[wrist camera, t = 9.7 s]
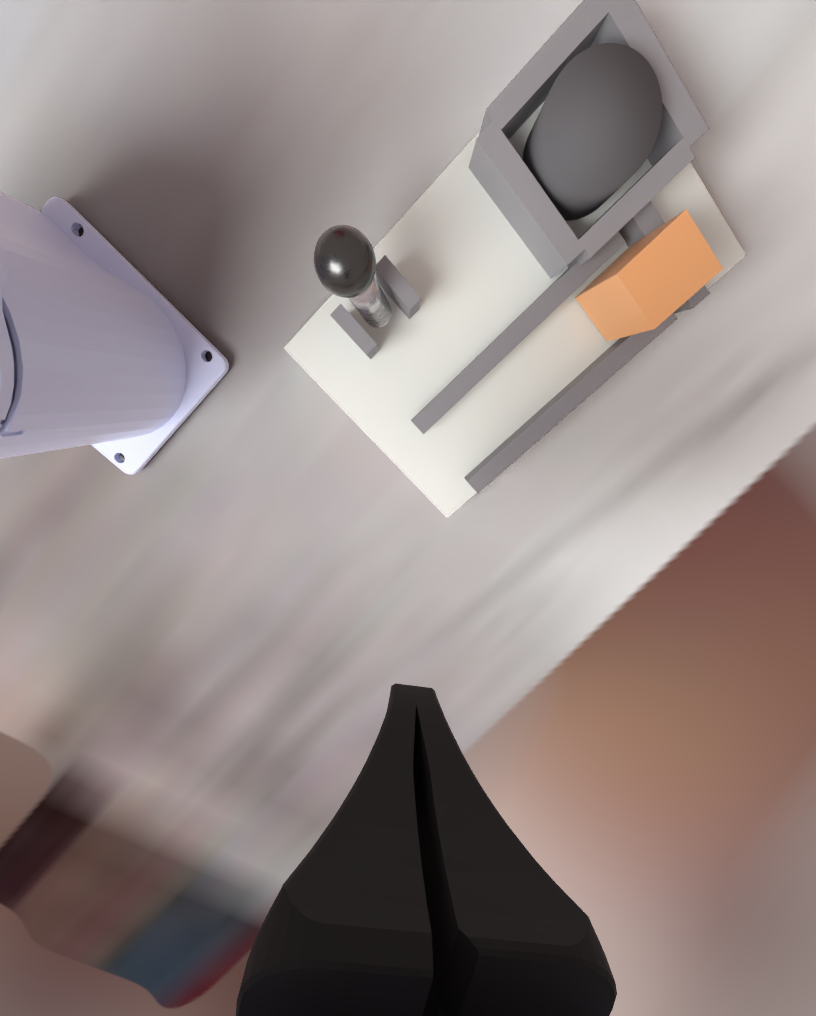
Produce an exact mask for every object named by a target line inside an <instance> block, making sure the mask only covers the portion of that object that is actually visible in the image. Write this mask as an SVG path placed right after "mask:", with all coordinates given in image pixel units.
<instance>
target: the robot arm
mask: <svg viewBox="0 0 816 1016" xmlns="http://www.w3.org/2000/svg"><path fill="white" fill-rule="evenodd" d="M81 227H83V230H84V233H83V235H82V236H81V237H80V235H79V228H81ZM208 351H210V352H211V354H212V360H211V361H210V362H208V361H207V360H206V358H205V354H206V352H208ZM228 370H229V363H228V360H227V359H226V358H225V357H224V356H223V355H222V354H221V353H220V352H219V351H218V350H217V349H216V348H215V347H214V346H213V345H212V344H211V343H210V342H209V341H208V340H207V339H206V338H205V337H204V336H203V335H202V334H201V333H200V332H199V331H198V330H197V329H196V328H195V327H194V326H193V325H192V324H191V323H190V322H189V321H188V320H187V319H186V318H185V317H184V316H183V315H182V314H181V313H180V312H179V311H178V310H177V309H176V308H175V307H174V306H173V305H172V304H171V303H170V302H169V301H168V300H167V299H166V298H165V297H164V296H163V295H162V294H161V293H160V292H159V291H158V290H157V289H156V288H155V287H154V286H153V285H152V284H151V283H150V282H149V281H148V280H147V279H146V278H145V277H144V276H143V275H142V274H141V273H140V272H139V271H138V270H137V269H136V268H135V267H134V266H133V265H131V264H130V263H129V262H128V261H127V260H126V259H125V258H124V257H123V256H122V255H121V254H120V253H119V252H118V251H117V250H116V249H115V248H114V247H113V246H112V245H111V244H110V243H109V242H108V241H107V240H106V239H105V238H104V237H103V236H102V235H101V234H100V233H99V232H98V231H97V230H96V229H95V228H94V227H93V226H92V225H91V224H90V223H89V222H88V221H87V220H86V219H85V218H84V217H83V216H82V215H81V214H80V213H79V212H78V211H77V210H76V209H75V208H74V207H73V206H72V205H71V204H70V203H68V202H67V201H65V200H63V199H62V198H60V197H56V196H55V197H51V198H50V199H48V201H47V202H46V203H45V205H44V206H43V208H42V209H41V211H38V210H36V209H34V208H32V207H30V206H28V205H26V204H24V203H22V202H20V201H18V200H16V199H14V198H12V197H10V196H8V195H6V194H4V193H2V192H0V459H2V458H9V457H15V456H21V455H28V454H34V453H40V452H47V451H53V450H59V449H65V448H72V447H78V446H84V445H92V446H93V447H94V448H96V449H97V450H98V451H99V452H100V453H102V454H103V455H104V456H105V457H106V458H107V459H109V460H110V461H111V462H112V463H113V464H115V465H116V466H117V467H118V468H119V469H120V470H122V471H123V472H124V473H126V474H130V475H131V474H135V473H138V472H140V471H141V470H142V469H143V468H144V466H145V465H146V464H147V463H148V462H149V461H150V460H151V458H152V457H153V456H154V455H155V454H156V453H157V452H158V451H159V449H160V448H161V447H162V446H163V445H164V444H165V443H166V441H167V440H168V439H169V438H170V437H171V436H172V435H173V433H174V432H175V431H176V430H177V429H178V428H179V427H180V425H181V424H182V423H183V422H184V421H185V420H186V419H187V417H188V416H189V415H190V414H191V413H192V412H193V411H194V409H195V408H196V407H197V406H198V405H199V404H200V403H201V402H202V400H203V399H204V398H205V397H206V396H207V395H208V394H209V392H210V391H211V390H212V389H213V388H214V387H215V386H216V384H217V383H218V382H219V381H220V380H221V379H222V378H223V376H224V375H225V374H226V373H227V371H228ZM120 453H121V454H123V455H124V457H125V461H122V460H121V458H120ZM616 995H617V991H616V984H615V981H614V978H613V975H612V972H611V970H610V967H609V964H608V962H607V959H606V956H605V954H604V951H603V949H602V946H601V944H600V942H599V940H598V937H597V935H596V933H595V931H594V929H593V926H592V924H591V922H590V919H589V917H588V916H587V915H586V914H585V913H584V912H583V911H582V910H581V909H580V908H579V907H578V906H577V904H576V903H575V902H574V901H573V900H572V899H571V898H570V897H569V896H568V895H566V893H565V892H564V891H563V890H562V889H561V888H560V887H559V886H558V885H557V884H556V883H555V882H554V881H553V880H552V879H551V877H550V876H549V875H548V874H547V873H546V872H545V871H544V870H543V868H542V867H541V866H540V865H539V864H538V863H537V862H536V861H535V859H534V858H533V857H532V856H531V854H530V853H529V852H528V851H527V849H526V848H525V847H524V845H523V844H522V843H521V842H520V841H519V839H518V838H517V837H516V835H515V834H514V833H513V832H512V830H511V829H510V828H509V826H508V825H507V824H506V823H505V821H504V820H503V818H502V817H501V815H500V814H499V812H498V811H497V810H496V808H495V807H494V805H493V804H492V802H491V801H490V799H489V798H488V797H487V795H486V793H485V792H484V790H483V789H482V787H481V785H480V784H479V782H478V780H477V779H476V777H475V775H474V774H473V772H472V770H471V769H470V767H469V765H468V763H467V761H466V759H465V758H464V756H463V754H462V752H461V750H460V748H459V746H458V744H457V742H456V740H455V738H454V736H453V734H452V732H451V730H450V728H449V725H448V723H447V721H446V719H445V716H444V714H443V712H442V709H441V707H440V704H439V702H438V699H437V696H436V693H435V691H434V690H433V689H432V688H426V687H418V686H410V685H402V684H394V685H393V686H391V692H390V697H389V703H388V709H387V713H386V716H385V719H384V721H383V724H382V727H381V729H380V732H379V735H378V737H377V739H376V742H375V744H374V746H373V748H372V750H371V752H370V755H369V757H368V759H367V761H366V763H365V765H364V767H363V769H362V771H361V773H360V774H359V776H358V778H357V780H356V782H355V784H354V785H353V787H352V789H351V790H350V792H349V794H348V795H347V797H346V799H345V800H344V802H343V804H342V805H341V807H340V809H339V810H338V812H337V813H336V815H335V816H334V818H333V819H332V821H331V822H330V824H329V825H328V826H327V828H326V829H325V831H324V832H323V833H322V835H321V836H320V838H319V839H318V841H317V842H316V843H315V845H314V846H313V848H312V849H311V850H310V852H309V853H308V854H307V855H306V857H305V858H304V859H303V860H302V862H301V863H300V864H299V865H298V867H297V868H296V869H295V870H294V872H293V873H292V874H291V875H290V877H289V878H288V879H287V880H286V882H285V883H284V884H283V886H282V888H281V890H280V892H279V894H278V896H277V897H276V899H275V901H274V903H273V905H272V907H271V909H270V911H269V913H268V914H267V916H266V918H265V920H264V922H263V924H262V926H261V929H260V931H259V933H258V935H257V937H256V940H255V942H254V944H253V947H252V949H251V952H250V955H249V958H248V961H247V964H246V968H245V972H244V976H243V979H242V983H241V987H240V991H239V995H238V999H237V1008H236V1016H609V1015H610V1013H611V1011H612V1008H613V1005H614V1002H615V998H616Z"/></svg>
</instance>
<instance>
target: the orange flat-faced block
mask: <svg viewBox="0 0 816 1016" xmlns="http://www.w3.org/2000/svg"><path fill="white" fill-rule="evenodd" d="M722 269H723V267H722V266H721V264H720V263H719V261H718V259H717V258H716V256H715V254H714V253H713V251H712V250H711V248H710V246H709V245H708V243H707V242H706V240H705V238H704V237H703V235H702V233H701V232H700V230H699V229H698V227H697V225H696V224H695V222H694V221H693V219H692V217H691V216H690V214H689V213H688V211H687V209H686V210H684V211H683V212H681V213H679V214H678V215H676V216H675V217H673V218H672V219H670V220H669V221H667V222H666V223H664V224H663V225H661V226H660V227H658V228H657V229H655V230H654V231H652V232H651V233H649V234H648V235H646V236H645V237H643V238H642V239H640V240H639V241H637V242H636V243H634V244H632V245H631V246H629V247H628V248H627V249H626V250H625V251H624V252H623V253H622V254H621V255H620V256H619V257H618V258H617V259H616V260H615V261H613V262H612V263H611V264H610V265H609V266H608V267H607V268H606V269H605V270H604V271H603V272H602V273H601V274H600V275H599V276H598V277H596V278H595V279H594V280H593V281H592V282H591V283H590V284H589V285H588V286H587V287H586V288H585V289H584V290H583V291H582V292H581V293H580V294H578V295H577V296H576V297H575V299H576V300H577V301H578V303H579V304H580V305H581V307H582V308H583V310H584V311H585V312H586V314H587V315H588V316H589V318H590V319H591V320H592V322H593V323H594V325H595V326H596V327H597V329H598V330H599V331H600V333H601V334H602V335H603V337H604V338H605V340H606V341H611V340H615V339H619V338H622V337H626V336H630V335H634V334H638V333H641V332H645V331H649V330H653V329H655V328H656V327H658V326H659V325H660V324H661V323H662V322H663V321H664V320H666V319H667V318H668V317H669V316H670V315H671V314H672V313H673V312H675V311H676V310H677V309H678V308H679V307H680V306H681V305H683V304H684V303H685V302H686V301H687V300H688V299H689V298H690V297H692V296H693V295H694V294H695V293H696V292H697V291H698V290H700V289H701V288H702V287H703V286H704V285H705V284H706V283H707V282H709V281H710V280H711V279H712V278H713V277H714V276H715V275H717V274H718V273H719V272H720V271H721V270H722Z"/></svg>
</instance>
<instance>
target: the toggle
mask: <svg viewBox="0 0 816 1016" xmlns="http://www.w3.org/2000/svg"><path fill="white" fill-rule="evenodd" d="M314 265H315V270H316V273H317V275H318V278H319V279H320V281H321V283H322V284H323V285H324V287H325V288H326V289H327V290H328V291H330V292H331V293H333V294H334V295H336V296H339V297H343V298H349V300H350V301H351V302H352V304H353V305H354V306H355V308H356V309H357V310H358V312H359V313H360V314H361V316H362V317H363V318H364V320H365V321H366V322H367V323H368V324H369V325H370V326H372V327H375V328H381V327H383V326H385V325H386V324H387V323H388V322H389V321H390V319H391V314H392V310H391V306H390V304H389V302H388V300H387V298H386V296H385V295H384V293H383V291H382V289H381V287H380V286H379V284H378V282H377V280H376V278H375V277H374V276H375V272H376V258H375V253H374V250H373V248H372V245H371V243H370V242H369V240H368V239H367V238H366V236H365V235H364V234H363V233H362V232H360V231H359V230H357V229H356V228H353V227H351V226H347V225H338V226H334V227H332V228H330V229H328V230H327V231H325V232H324V233H323V234H322V236H321V237H320V238H319V240H318V242H317V244H316V247H315V252H314Z"/></svg>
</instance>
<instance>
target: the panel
mask: <svg viewBox="0 0 816 1016" xmlns="http://www.w3.org/2000/svg"><path fill="white" fill-rule="evenodd" d="M603 43H618V44H623V45H626V46H629V47H631V48H633V49H635V50H636V51H638V52H639V53H640V54H641V55H643V56H644V58H645V59H646V60H647V61H648V62H649V63H650V65H651V66H652V68H653V70H654V72H655V74H656V76H657V79H658V81H659V84H660V89H661V94H662V119H661V125H660V130H659V133H658V136H657V139H656V142H655V144H654V147H653V149H652V151H651V153H650V154H649V156H648V158H647V159H646V161H645V162H644V163H643V165H642V166H641V167H640V168H639V169H638V170H637V172H636V173H635V174H634V175H633V176H632V177H630V178H629V179H628V180H627V181H626V182H625V183H624V184H623V185H622V186H621V187H620V188H619V189H618V190H617V191H616V192H615V193H614V194H613V195H612V196H611V197H610V198H609V199H608V200H607V201H606V202H604V203H603V204H602V205H601V206H600V207H599V208H598V209H597V210H595V211H594V212H593V213H591V214H589V215H587V216H585V217H583V218H580V219H577V220H572V221H565V220H564V219H563V217H562V216H561V214H560V213H559V211H558V210H557V209H556V207H555V206H554V204H553V203H552V202H551V200H550V199H549V197H548V196H547V194H546V193H545V192H544V190H543V189H542V187H541V186H540V184H539V183H538V182H537V180H536V179H535V177H534V176H533V174H532V173H531V172H530V170H529V169H528V167H527V166H526V165H525V163H524V162H523V160H522V158H523V151H524V147H525V144H526V141H527V138H528V136H529V134H530V131H531V129H532V127H533V125H534V123H535V121H536V119H537V117H538V115H539V113H540V111H541V108H542V106H543V104H544V102H545V100H546V98H547V96H548V94H549V92H550V90H551V88H552V86H553V84H554V82H555V80H556V78H557V77H558V75H559V73H560V72H561V71H562V69H563V68H564V67H565V66H566V65H567V63H569V62H570V61H571V60H572V59H573V58H574V57H575V56H576V55H578V54H579V53H580V52H582V51H584V50H586V49H588V48H590V47H592V46H595V45H598V44H603ZM708 129H709V127H708V126H707V124H706V122H705V120H704V119H703V117H702V115H701V114H700V112H699V110H698V108H697V107H696V105H695V103H694V101H693V100H692V98H691V96H690V94H689V93H688V91H687V89H686V87H685V86H684V84H683V82H682V81H681V79H680V77H679V75H678V74H677V72H676V70H675V68H674V67H673V65H672V63H671V61H670V60H669V58H668V56H667V54H666V53H665V51H664V49H663V48H662V46H661V44H660V42H659V41H658V39H657V37H656V35H655V34H654V32H653V30H652V28H651V27H650V25H649V23H648V21H647V20H646V18H645V16H644V15H643V13H642V11H641V9H640V8H639V6H638V4H637V2H636V1H635V0H584V1H583V2H582V3H581V4H580V5H579V6H578V7H577V8H576V9H575V11H574V12H573V13H572V14H571V15H570V16H569V17H568V18H567V20H566V21H565V22H564V23H563V24H562V25H561V26H560V27H559V28H558V30H557V31H556V32H555V33H554V34H553V35H552V36H551V37H550V39H549V40H548V41H547V42H546V43H545V44H544V45H543V46H542V48H541V49H540V50H539V51H538V52H537V53H536V54H535V55H534V56H533V58H532V59H531V60H530V61H529V62H528V63H527V64H526V65H525V67H524V68H523V69H522V70H521V71H520V72H519V73H518V74H517V75H516V77H515V78H514V79H513V80H512V81H511V82H510V83H509V84H508V86H507V87H506V88H505V89H504V90H503V91H502V92H501V93H500V94H499V96H498V97H497V98H496V99H495V100H494V101H493V102H492V103H491V105H490V106H489V107H488V108H487V109H486V112H485V116H484V119H483V123H482V126H481V130H480V131H479V132H478V133H477V134H476V135H475V136H474V138H473V139H472V140H471V141H470V142H469V143H468V144H467V145H466V146H465V148H464V149H463V150H462V151H461V152H460V153H459V154H458V155H457V156H456V157H455V159H454V160H453V161H452V162H451V163H450V164H449V165H448V166H447V167H446V169H445V170H444V171H443V172H442V173H441V174H440V175H439V176H438V177H437V179H436V180H435V181H434V182H433V183H432V184H431V185H430V186H429V187H428V189H427V190H426V191H425V192H424V193H423V194H422V195H421V196H420V197H419V199H418V200H417V201H416V202H415V203H414V204H413V205H412V206H411V207H410V209H409V210H408V211H407V212H406V213H405V214H404V215H403V216H402V217H401V219H400V220H399V221H398V222H397V223H396V224H395V225H394V226H393V227H392V228H391V230H390V231H389V232H388V233H387V234H386V235H385V236H384V237H383V238H382V240H381V241H380V242H379V243H378V244H377V245H376V246H375V247H374V248H373V250H374V253H375V258H376V272H375V276H374V277H375V278H376V280H377V282H378V284H379V286H380V287H381V289H382V291H383V293H384V295H385V296H386V298H387V300H388V302H389V304H390V306H391V310H392V314H391V319H390V321H389V322H388V323H387V324H386V325H385V326H383V327H381V328H375V327H372V326H370V325H369V324H368V323H367V322H366V321H365V320H364V318H363V317H362V316H361V314H360V313H359V312H358V310H357V309H356V308H355V306H354V305H353V304H352V302H351V301H350V300H349V298H343V297H339V296H336V295H334V294H332V295H331V296H330V297H329V298H328V300H327V301H326V302H325V303H324V304H323V305H322V306H321V307H320V308H319V309H318V311H317V312H316V313H315V314H314V315H313V316H312V317H311V318H310V319H309V321H308V322H307V323H306V324H305V325H304V326H303V327H302V328H301V329H300V331H299V332H298V333H297V334H296V335H295V336H294V337H293V338H292V339H291V341H290V342H289V343H288V344H287V345H286V346H285V347H284V349H285V350H286V351H287V352H288V353H289V355H290V356H291V357H292V358H293V359H294V360H295V361H296V362H297V363H298V364H299V365H300V366H301V367H302V368H303V369H304V370H305V371H306V372H307V373H308V374H309V375H310V376H311V377H312V378H313V379H314V380H315V382H316V383H317V384H318V385H319V386H320V387H321V388H322V389H323V390H324V391H325V392H326V393H327V394H328V395H329V396H330V397H331V398H332V399H333V400H334V401H335V402H336V403H337V404H338V405H339V406H340V407H341V408H342V410H343V411H344V412H345V413H346V414H347V415H348V416H349V417H350V418H351V419H352V420H353V421H354V422H355V423H356V424H357V425H358V426H359V427H360V428H361V429H362V430H363V431H364V432H365V433H366V434H367V435H368V437H369V438H370V439H371V440H372V441H373V442H374V443H375V444H376V445H377V446H378V447H379V448H380V449H381V450H382V451H383V452H384V453H385V454H386V455H387V456H388V457H389V458H390V459H391V460H392V461H393V462H394V463H395V465H396V466H397V467H398V468H399V469H400V470H401V471H402V472H403V473H404V474H405V475H406V476H407V477H408V478H409V479H410V480H411V481H412V482H413V483H414V484H415V485H416V486H417V487H418V488H419V489H420V490H421V492H422V493H423V494H424V495H425V496H426V497H427V498H428V499H429V500H430V501H431V502H432V503H433V504H434V505H435V506H436V507H437V508H438V509H439V510H440V511H441V512H442V513H443V514H444V515H445V516H446V517H447V518H448V517H449V516H450V515H451V514H453V513H454V512H455V511H456V510H457V509H458V508H459V507H460V506H462V505H463V504H464V503H465V502H466V501H467V500H468V499H470V498H471V497H472V496H473V495H474V494H475V493H476V492H477V493H479V492H480V491H481V490H482V489H484V488H485V487H486V486H487V485H488V484H489V483H490V482H492V481H493V480H494V479H495V478H496V477H497V476H498V475H500V474H501V473H502V472H503V471H504V470H505V469H506V468H508V467H509V466H510V465H511V464H512V463H513V462H514V461H516V460H517V459H518V458H519V457H520V456H521V455H522V454H523V453H525V452H526V451H527V450H528V449H529V448H530V447H531V446H533V445H534V444H535V443H536V442H537V441H538V440H539V439H541V438H542V437H543V436H544V435H545V434H546V433H547V432H549V431H550V430H551V429H552V428H553V427H554V426H555V425H557V424H558V423H559V422H560V421H561V420H562V419H563V418H565V417H566V416H567V415H568V414H569V413H570V412H571V411H573V410H574V409H575V408H576V407H577V406H578V405H579V404H581V403H582V402H583V401H584V400H585V399H586V398H587V397H589V396H590V395H591V394H592V393H593V392H594V391H595V390H596V389H598V388H599V387H600V386H601V385H602V384H603V383H604V382H606V381H607V380H608V379H609V378H610V377H611V376H612V375H614V374H615V373H616V372H617V371H618V370H619V369H620V368H622V367H623V366H624V365H625V364H626V363H627V362H628V361H630V360H631V359H632V358H633V357H634V356H635V355H636V354H638V353H639V352H640V351H641V350H642V349H643V348H644V347H646V346H647V345H648V344H649V343H650V342H651V341H652V340H654V339H655V338H656V337H657V336H658V335H659V334H660V333H662V332H663V331H664V330H665V329H666V328H667V327H668V326H670V325H671V324H672V323H673V322H674V321H675V320H676V319H677V316H678V315H679V314H680V313H681V312H683V311H685V310H688V309H691V308H693V307H695V306H696V305H697V304H698V303H699V302H700V301H701V300H703V299H704V298H705V297H706V296H707V295H708V294H709V291H708V289H709V288H710V287H711V286H712V285H713V284H714V283H716V282H717V281H718V280H719V279H720V278H721V277H722V276H724V275H725V274H726V273H727V272H728V271H729V270H730V269H732V268H733V267H734V266H735V265H736V264H737V263H738V262H740V261H741V260H742V259H743V258H744V257H745V256H746V254H745V252H744V250H743V249H742V247H741V245H740V244H739V242H738V240H737V239H736V237H735V235H734V234H733V232H732V230H731V229H730V227H729V225H728V224H727V222H726V220H725V219H724V217H723V215H722V214H721V212H720V210H719V209H718V207H717V205H716V204H715V202H714V200H713V199H712V197H711V195H710V194H709V192H708V190H707V189H706V187H705V185H704V184H703V182H702V180H701V179H700V177H699V175H698V174H697V172H696V170H695V169H694V167H693V165H692V164H691V161H692V160H693V159H694V158H695V156H694V154H693V152H692V151H691V149H690V146H691V145H692V144H693V143H695V142H696V141H697V140H698V139H699V138H700V137H701V136H702V135H703V134H704V133H705V132H706V131H707V130H708ZM686 209H687V211H688V213H689V214H690V216H691V217H692V219H693V221H694V222H695V224H696V225H697V227H698V229H699V230H700V232H701V233H702V235H703V237H704V238H705V240H706V242H707V243H708V245H709V246H710V248H711V250H712V251H713V253H714V254H715V256H716V258H717V259H718V261H719V263H720V264H721V266H722V267H723V269H722V270H721V271H720V272H719V273H718V274H717V275H715V276H714V277H713V278H712V279H711V280H710V281H709V282H707V283H706V284H705V285H704V286H703V287H702V288H701V289H700V290H698V291H697V292H696V293H695V294H694V295H693V296H692V297H690V298H689V299H688V300H687V301H686V302H685V303H684V304H683V305H681V306H680V307H679V308H678V309H677V310H676V311H675V312H673V313H672V314H671V315H670V316H669V317H668V318H667V319H666V320H664V321H663V322H662V323H661V324H660V325H659V326H658V327H656V328H655V329H653V330H649V331H645V332H641V333H638V334H634V335H630V336H626V337H622V338H619V339H615V340H611V341H606V340H605V338H604V337H603V335H602V334H601V333H600V331H599V330H598V329H597V327H596V326H595V325H594V323H593V322H592V320H591V319H590V318H589V316H588V315H587V314H586V312H585V311H584V310H583V308H582V307H581V305H580V304H579V303H578V301H577V300H576V299H575V297H576V296H577V295H578V294H580V293H581V292H582V291H583V290H584V289H585V288H586V287H587V286H588V285H589V284H590V283H591V282H592V281H593V280H594V279H595V278H596V277H598V276H599V275H600V274H601V273H602V272H603V271H604V270H605V269H606V268H607V267H608V266H609V265H610V264H611V263H612V262H613V261H615V260H616V259H617V258H618V257H619V256H620V255H621V254H622V253H623V252H624V251H625V250H626V249H627V248H628V247H629V246H631V245H632V244H634V243H636V242H637V241H639V240H640V239H642V238H643V237H645V236H646V235H648V234H649V233H651V232H652V231H654V230H655V229H657V228H658V227H660V226H661V225H663V224H664V223H666V222H667V221H669V220H670V219H672V218H673V217H675V216H676V215H678V214H679V213H681V212H683V211H684V210H686Z"/></svg>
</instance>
